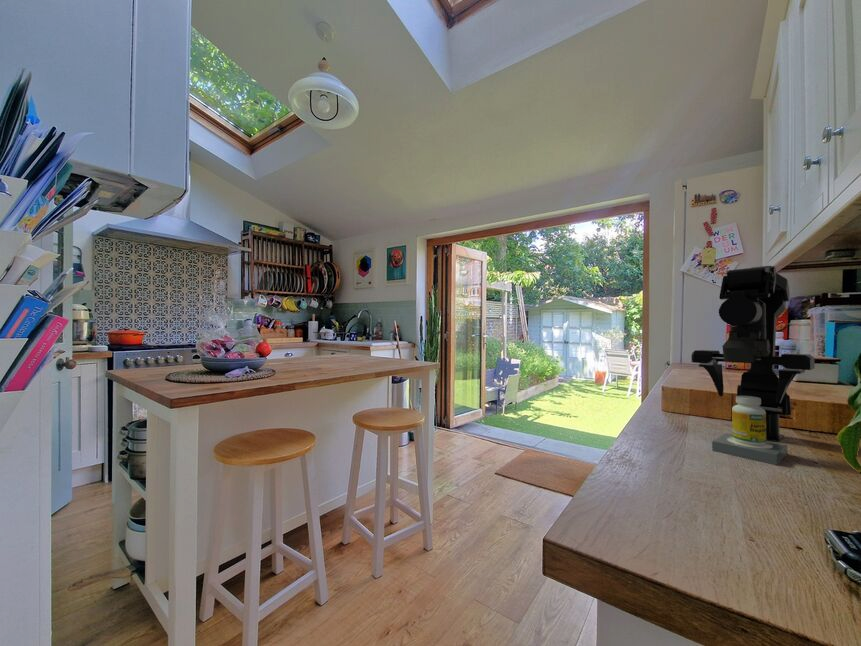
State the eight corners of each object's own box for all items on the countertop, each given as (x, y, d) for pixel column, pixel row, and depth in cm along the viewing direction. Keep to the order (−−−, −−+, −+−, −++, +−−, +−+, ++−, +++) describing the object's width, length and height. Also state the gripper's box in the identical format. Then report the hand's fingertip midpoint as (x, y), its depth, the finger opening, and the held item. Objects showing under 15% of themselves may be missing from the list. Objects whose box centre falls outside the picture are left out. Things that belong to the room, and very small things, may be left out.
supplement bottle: (747, 438, 77) (746, 394, 77) (774, 445, 72) (773, 399, 72) (725, 438, 76) (725, 395, 76) (751, 446, 71) (750, 399, 71)
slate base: (726, 441, 81) (726, 432, 81) (787, 454, 73) (787, 444, 73) (712, 450, 75) (712, 440, 75) (776, 465, 67) (776, 454, 67)
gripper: (682, 326, 77) (682, 396, 77) (804, 325, 62) (805, 413, 62) (699, 326, 84) (700, 391, 83) (814, 326, 69) (815, 405, 68)
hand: (748, 399), depth 74 cm, fingers open, 9 cm apart
